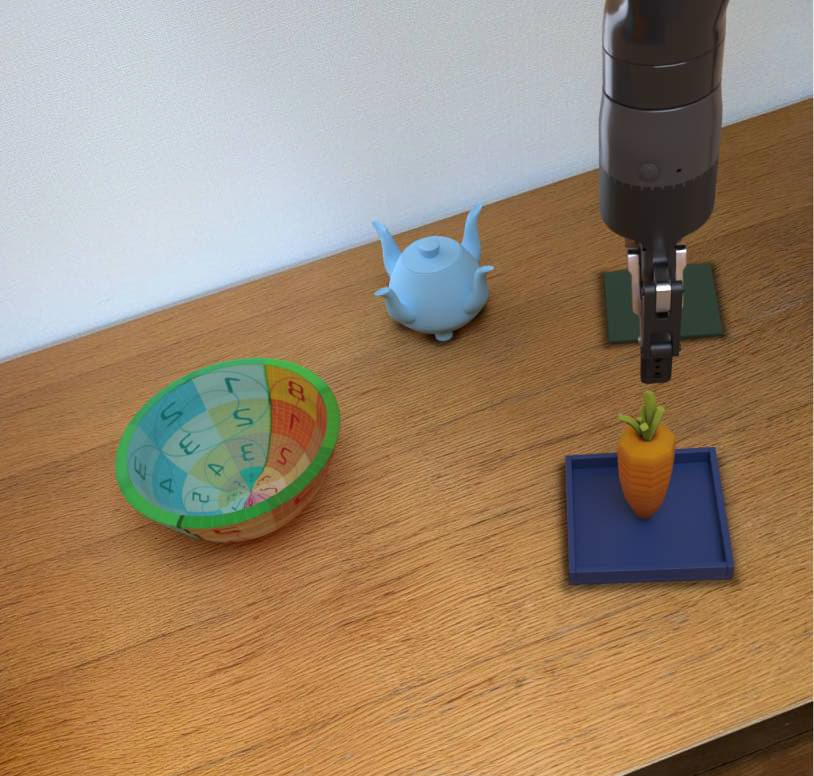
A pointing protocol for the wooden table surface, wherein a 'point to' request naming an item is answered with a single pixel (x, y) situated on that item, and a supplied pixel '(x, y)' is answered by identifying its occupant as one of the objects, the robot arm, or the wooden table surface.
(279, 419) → the bowl
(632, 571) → the tray
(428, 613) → the wooden table surface
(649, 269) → the robot arm
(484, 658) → the wooden table surface
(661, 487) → the carrot
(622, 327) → the mat
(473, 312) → the teapot
